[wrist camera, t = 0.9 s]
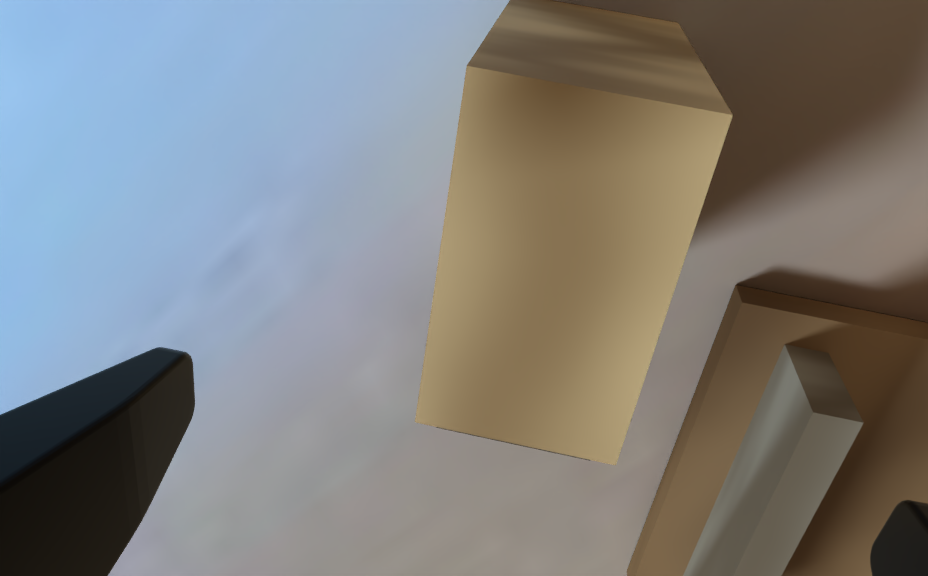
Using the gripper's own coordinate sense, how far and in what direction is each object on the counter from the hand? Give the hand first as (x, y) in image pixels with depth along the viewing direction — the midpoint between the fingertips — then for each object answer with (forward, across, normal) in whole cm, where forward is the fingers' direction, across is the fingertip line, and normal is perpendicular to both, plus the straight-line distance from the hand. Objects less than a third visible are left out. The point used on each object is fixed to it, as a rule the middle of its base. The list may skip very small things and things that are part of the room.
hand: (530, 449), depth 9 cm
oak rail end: (+12, 0, 0) cm, 12 cm away
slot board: (+12, -11, +9) cm, 19 cm away
